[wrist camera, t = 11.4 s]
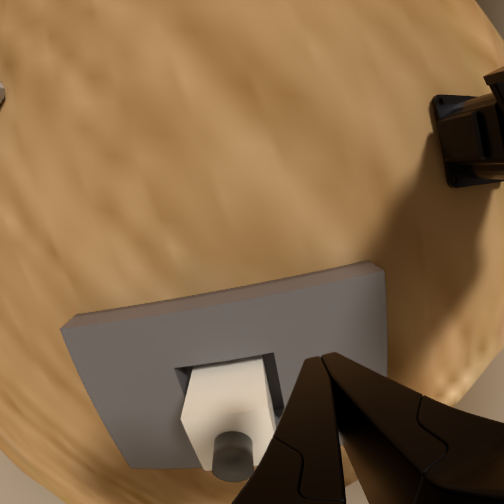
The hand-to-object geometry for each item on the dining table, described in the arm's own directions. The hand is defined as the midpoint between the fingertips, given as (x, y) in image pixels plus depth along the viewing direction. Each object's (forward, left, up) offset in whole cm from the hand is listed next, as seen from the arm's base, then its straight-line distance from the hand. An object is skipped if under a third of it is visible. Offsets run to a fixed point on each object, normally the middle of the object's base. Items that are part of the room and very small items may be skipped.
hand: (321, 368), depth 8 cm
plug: (+4, +7, -11) cm, 14 cm away
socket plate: (+4, +7, -12) cm, 14 cm away
